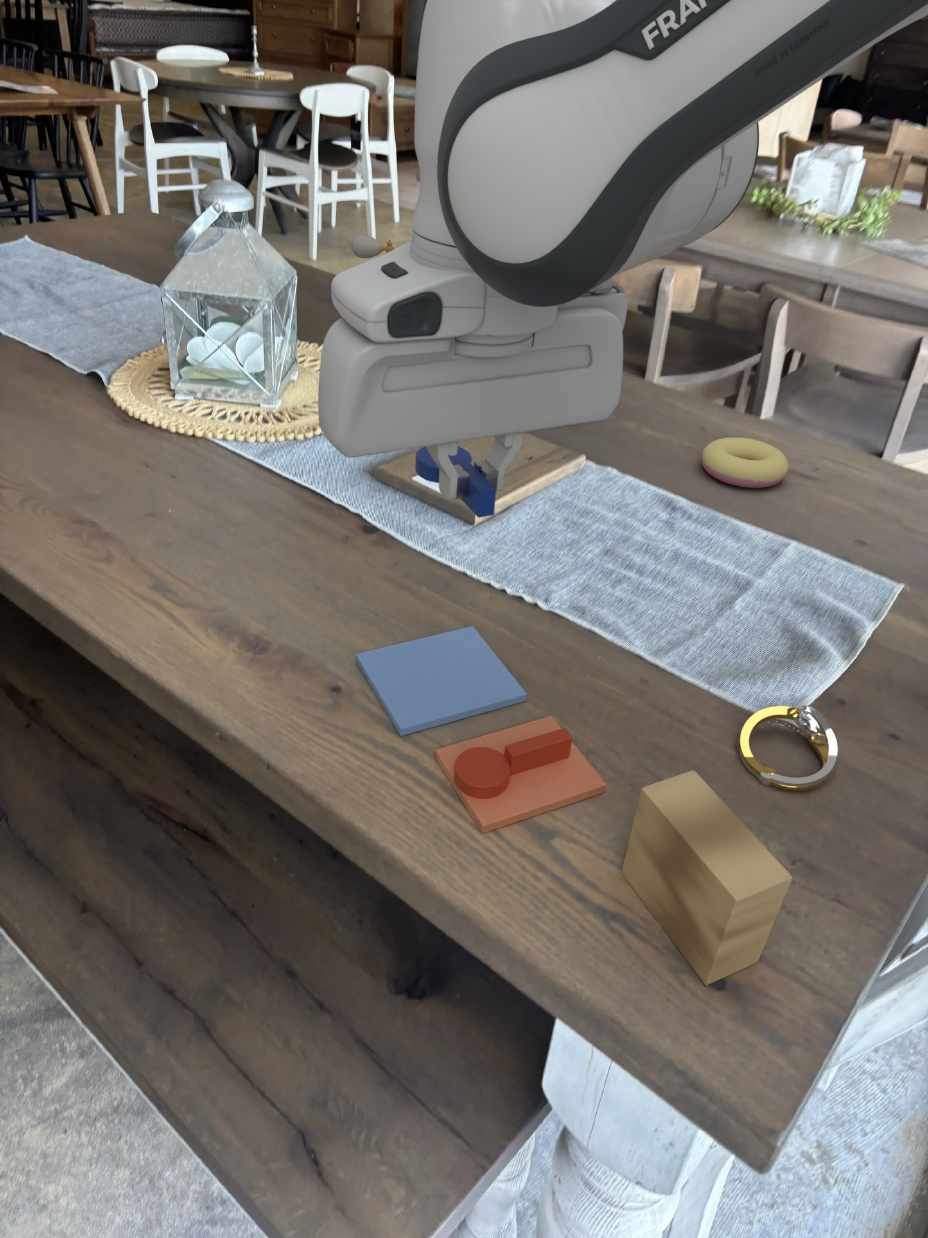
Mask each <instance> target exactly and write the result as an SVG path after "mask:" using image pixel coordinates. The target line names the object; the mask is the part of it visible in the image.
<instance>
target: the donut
mask: <svg viewBox="0 0 928 1238" xmlns="http://www.w3.org/2000/svg"><path fill="white" fill-rule="evenodd" d="M701 464H702V467H703V469H704V470H705V472H707V473H708V474H709V475H710V476H711V477H713V478H714V479H716V480H718V481H721V482H722V483H724V484H728V485H731V486H735V487H740V488H747V489H748V488H750V489H761V488H768V487H771V486H774V485H777V484H778V483H780V482H781V481H782V480H783V479H784V478H785V477H786V476H787V473H788V470H789V462H788V459H787V457H786V456H785V454H784V453H783V451H781V450H779V449H778V448H777V447H775V446H773V445H772V444H769V443H766V442H764V441H761V440H758V439H753V438H748V437H747V438H746V437H735V436H734V437H733V436H732V437H722V438H718V439H715V440H713V441H711V442H710V443H708V444H707V445H706V446H705V448H703V451H702V453H701Z"/></svg>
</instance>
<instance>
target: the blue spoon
mask: <svg viewBox="0 0 928 1238" xmlns="http://www.w3.org/2000/svg"><path fill="white" fill-rule="evenodd" d="M449 458H450V460H451V462H452V464H453V465H458V464H459V465H460V466H461V467H462V468H463V471H466V472H467V473H468V474H469V475H470V483H469V486H468V489H469V495H468V497H464V498H459V499H460V500H461V501H462V502H463V503H464V504H465V505H466V507H467V508H468V509H469V510H471V512H472V513H473V514H474V515H475V516H476V517H477V518H479V519H481V518H484V517H489V516H494V515H495V507H496V505H495V504H496V496H497V492H496V488H495V487H494V486H493V485H492V484H491V483H490V482H489V481H488V480H487V479H486V478H485V477H484V476H483V475H482V474H481V473H480V472H479V471H478V470H477V469H476V468H475V467H474V464H473V463H472V461H473V460H472V459H473V457H472V454H471V453H470V452H469V451H468V450H467V449H465V448H463V447H460V446H458V448H457V454H456V455H454V456H450V455H449ZM414 469H415V473H416V474H417V476H419V478H421V479H422V480H426V481H428V482H430V483H431V482H432V483H436V484H439V470H440V469H439V468H438V467H437V465H436V463H435V462H434V460H433V458H432V457H431V455H430V453H429V452H428V450H427V448H426V447H420V448H419V449H418V450H417V451H416V453H415V466H414Z"/></svg>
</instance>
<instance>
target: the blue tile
mask: <svg viewBox="0 0 928 1238" xmlns="http://www.w3.org/2000/svg"><path fill="white" fill-rule="evenodd" d="M355 662H356V664H357V666H358V667H359V669H360V670H361V673H362V674H363V676H364V678H365V679H366V681H367V682H368V684H369V686H370V688H371V689H372V691H373V693H374V694H375V695H376V697H377V700H378V701H379V703H380V705H381V707H382V708H383V709H384V711H385V713H386V714H387V716H388V717H389V720H390V721H391V723H392V724H393V726H394V727H395V729H396V731H397V733H398V734H399V736H400V737H403V736H407V735H410V734H414V733H418V732H421V731H425V730H428V729H432V728H435V727H438V726H442V725H446V724H449V723H453V722H456V721H460V720H463V719H467V718H471V717H474V716H477V715H481V714H485V713H489V712H492V711H496V710H499V709H502V708H506V707H510V706H513V705H516V704H520V703H523V702H527V697H528V693H527V692H526V691H525V690H524V688H523V687H522V686H521V684H520V683H519V682H518V680H517V679H516V678H515V677H514V675H513V674H512V673H511V672H510V671H509V669H508V668H507V667H506V666H505V664H504V663H503V662H502V660H501V659H500V658H499V657H498V655H497V654H496V652H494V651H493V649H492V648H491V647H490V645H489V644H488V643H487V642H486V640H485V639H484V638H483V636H482V635H481V634H480V633H479V632H478V630H477V629H476V628H475V626H473V625H471V626H467V627H462V628H458V629H454V630H449V631H446V632H442V633H437V634H433V635H429V636H425V637H421V638H417V639H413V640H409V641H405V642H399V643H396V644H391V645H387V646H383V647H379V648H375V649H371V650H368V651H367V650H366V651H363V652H358V653H355Z"/></svg>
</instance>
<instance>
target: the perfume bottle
mask: <svg viewBox="0 0 928 1238" xmlns="http://www.w3.org/2000/svg"><path fill="white" fill-rule="evenodd" d="M350 248H351V251H352V253H353V255H354V256H356V257H358V258H361V259H372V258H375V257H378V256H380V255H381V253H382V252H384V251H385V253H388V252H390V251H392V250H394V249H395V248H394V246H393V242H392V240H391V239H388V241H387V242H386V246H383V244H382V243H381V242H380V241H379V240H378V239H377V238H374V237H373V236H370V235H366V234H358V235H356V236H355V237H354V238H353V239H352V241H351V243H350Z"/></svg>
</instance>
